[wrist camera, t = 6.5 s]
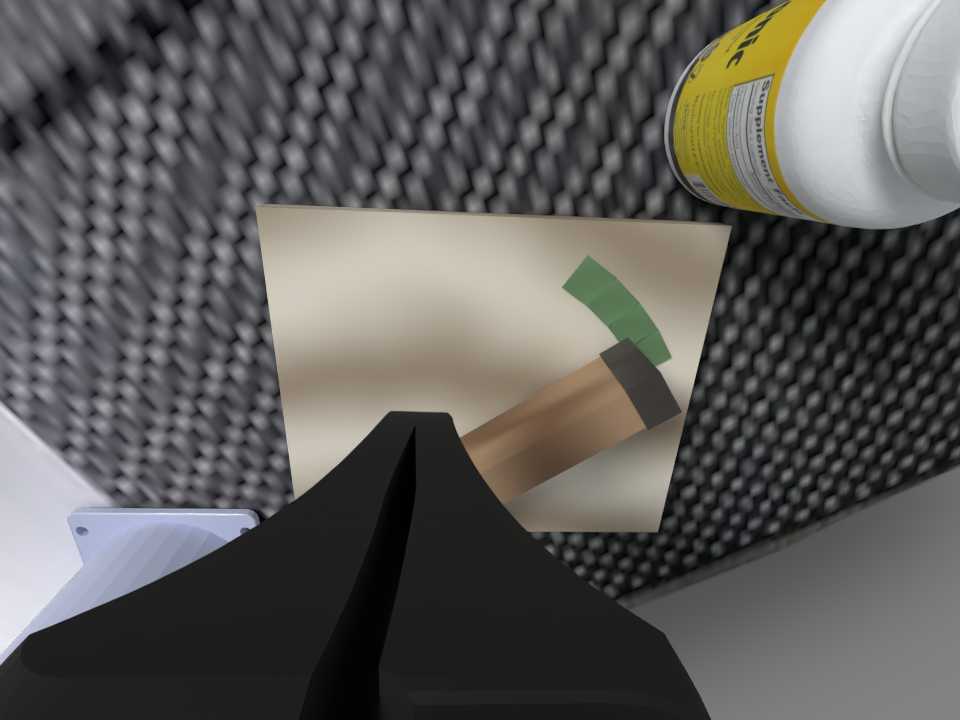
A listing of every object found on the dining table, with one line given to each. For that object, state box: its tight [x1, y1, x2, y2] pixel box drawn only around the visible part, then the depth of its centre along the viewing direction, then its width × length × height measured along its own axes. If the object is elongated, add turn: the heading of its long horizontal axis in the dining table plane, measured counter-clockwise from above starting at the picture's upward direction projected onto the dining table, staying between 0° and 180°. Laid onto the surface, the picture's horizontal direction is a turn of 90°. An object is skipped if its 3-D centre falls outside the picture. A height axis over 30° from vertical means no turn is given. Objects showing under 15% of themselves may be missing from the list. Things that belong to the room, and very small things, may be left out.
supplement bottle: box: [664, 0, 960, 229], centre depth 11 cm, size 5×5×10 cm
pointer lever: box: [460, 337, 682, 504], centre depth 17 cm, size 11×3×4 cm, turn 123°
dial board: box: [256, 204, 732, 532], centre depth 19 cm, size 14×16×1 cm
